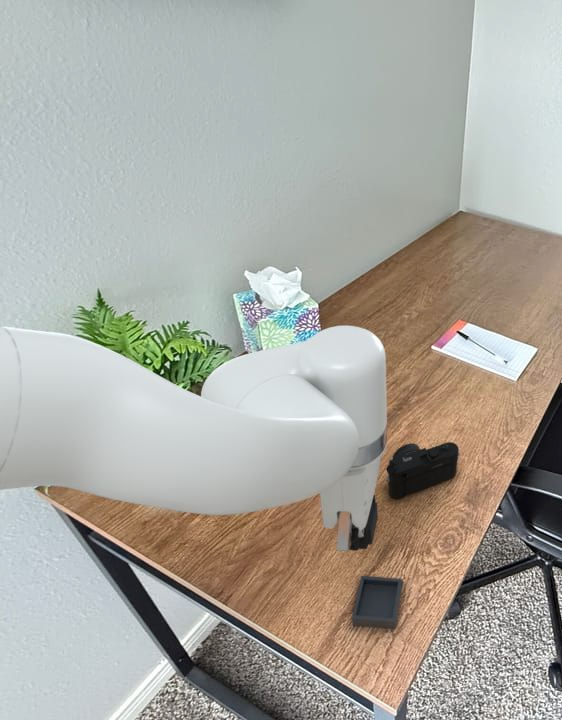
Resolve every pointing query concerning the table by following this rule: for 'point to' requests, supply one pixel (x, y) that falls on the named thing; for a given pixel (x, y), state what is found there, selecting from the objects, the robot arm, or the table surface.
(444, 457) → the camera
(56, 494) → the table surface
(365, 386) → the robot arm
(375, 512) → the black orange striped cube
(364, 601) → the open box
